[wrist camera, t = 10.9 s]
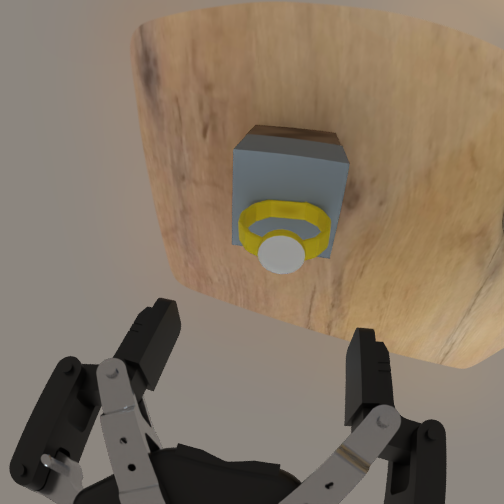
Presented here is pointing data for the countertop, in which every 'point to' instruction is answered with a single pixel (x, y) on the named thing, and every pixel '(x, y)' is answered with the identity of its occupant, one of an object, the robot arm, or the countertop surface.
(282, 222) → the grey block
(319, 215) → the watch
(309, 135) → the walnut block
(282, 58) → the countertop surface
